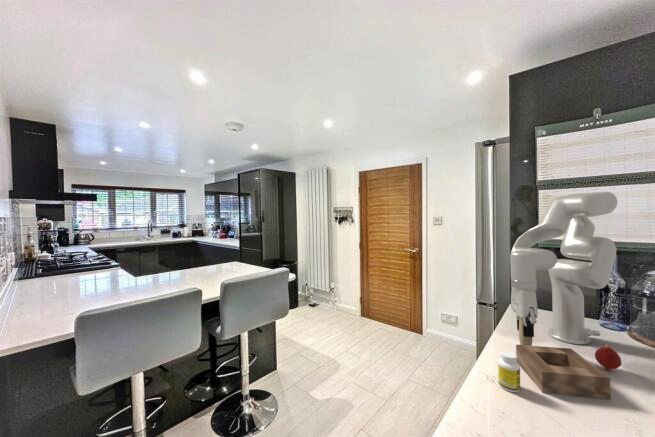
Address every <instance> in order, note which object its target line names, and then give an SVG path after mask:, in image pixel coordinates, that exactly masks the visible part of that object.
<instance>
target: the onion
mask: <svg viewBox="0 0 655 437" xmlns="http://www.w3.org/2000/svg"><path fill="white" fill-rule="evenodd" d="M594 358H595V360H596V362H597V363H598V364H600V365H601V366H602V367H603V369H605V370H607V371H613V370H617V369H618V368H620V366H622V359H621V357H620V355H619V354H618V352H617V351H616V350H614V349H612V348H611V346H609V345H608V344H603V346H602V347H599V348H598V349H597V350H595V352H594Z"/></svg>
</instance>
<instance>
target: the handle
mask: <svg viewBox="0 0 655 437" xmlns="http://www.w3.org/2000/svg"><path fill="white" fill-rule="evenodd" d="M513 312H514V313H515V312H516V309H515V308H514V311H513ZM527 317H530V316H527ZM528 320H530V319H527V321H528ZM523 325H524V320H523V318H521V317H520V316H519V331H518V339H519V343H520V344H519V345H528V346H533V337H525V336H523Z"/></svg>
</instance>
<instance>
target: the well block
mask: <svg viewBox="0 0 655 437" xmlns="http://www.w3.org/2000/svg"><path fill="white" fill-rule="evenodd" d="M515 354H516V355H517V363H518V364H519V365H520V369H521V370H523V372H524V373H525V374H526V375H527V376H528V377H529V379H530V380H531V381H532V382H533V383H534V384H535V386H537V388H538V389H539V390H540V391H541V393H543V394H545V393H546V394H554V395H562V396H571V397H573V396H574V397H582V398H591V399H600V400H601V399H602V400H609V401H611V394H612V393H611V377H609V375H607V374H605V373H604V372H603V371H601V370H600V369H599V368H598V367H596V366H595V365H594V364H592V363H591V362H590V361H589V360H587V359H586V358H584V357H583V356H582V355H580V354H579V353H578V352H576V351H575V350H573V349H572V348H570V347H569V348H567V347H556V346H555V347H554V346H542V345H541V346H540V345H532V346H528V345H520V344H515Z"/></svg>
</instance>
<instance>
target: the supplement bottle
mask: <svg viewBox="0 0 655 437" xmlns="http://www.w3.org/2000/svg"><path fill="white" fill-rule="evenodd" d="M497 362H498V363H497V368H498V370H497V373H498V375H497V376H498V377H497V379H498V380H497V381H498V386H499V387H500V388H502V389H503V390H505V391H507V392H511V393H519V392H520V391H521V367H520V365H519V364H518V363H517V355H516V353H514V352H512V351H508V350H503V351H501V352H500V358H499V359H498V360H497Z"/></svg>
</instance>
